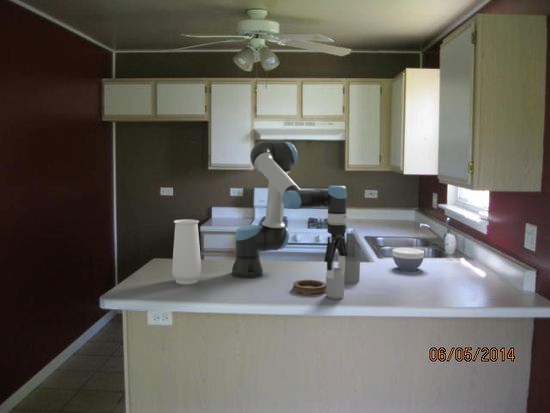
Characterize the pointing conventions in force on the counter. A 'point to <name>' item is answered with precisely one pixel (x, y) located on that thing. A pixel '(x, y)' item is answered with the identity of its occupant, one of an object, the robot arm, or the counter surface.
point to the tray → (309, 287)
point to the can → (335, 284)
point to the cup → (352, 270)
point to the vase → (186, 252)
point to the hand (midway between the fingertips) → (335, 274)
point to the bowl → (408, 258)
